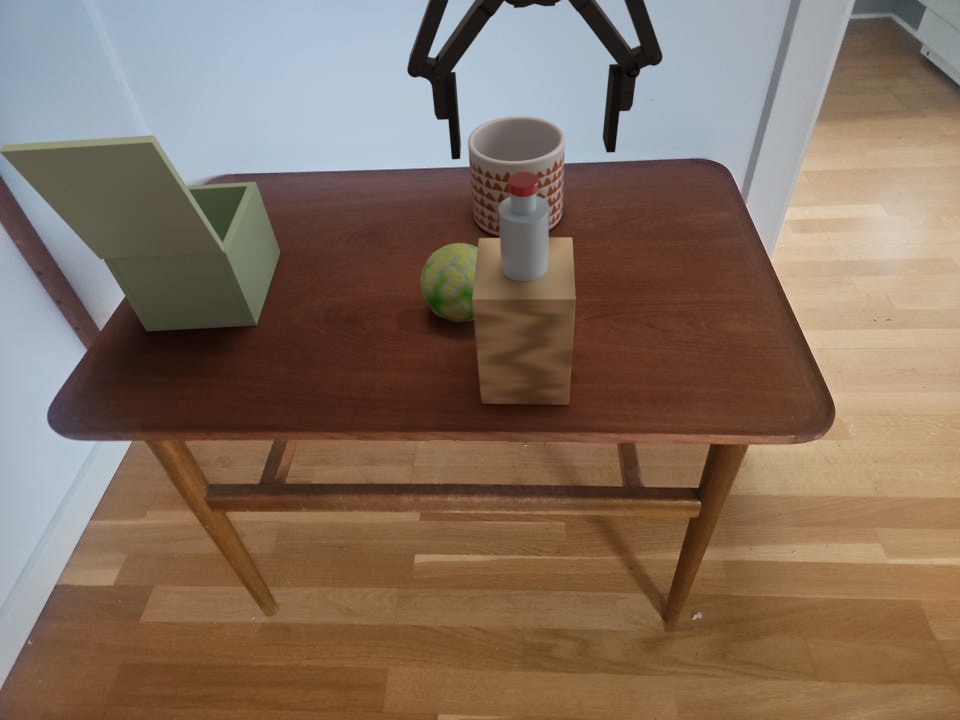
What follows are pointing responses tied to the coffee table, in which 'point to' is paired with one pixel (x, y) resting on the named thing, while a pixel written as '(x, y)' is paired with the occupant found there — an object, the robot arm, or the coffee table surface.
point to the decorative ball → (450, 281)
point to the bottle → (524, 229)
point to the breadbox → (207, 268)
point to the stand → (524, 328)
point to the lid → (117, 195)
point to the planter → (515, 165)
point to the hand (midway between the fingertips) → (532, 148)
